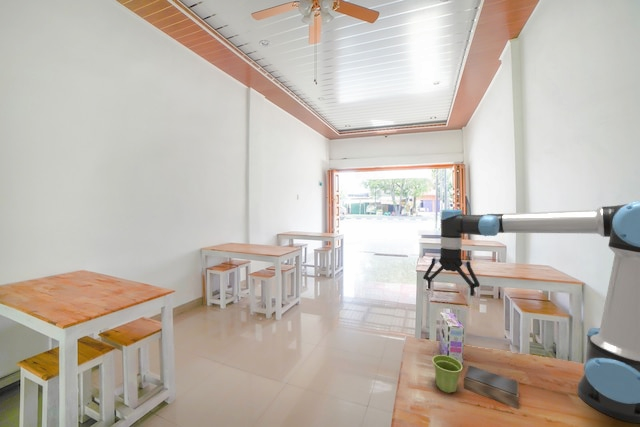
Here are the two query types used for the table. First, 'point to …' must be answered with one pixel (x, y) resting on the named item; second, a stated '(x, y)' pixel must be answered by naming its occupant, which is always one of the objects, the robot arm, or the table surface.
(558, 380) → the table surface
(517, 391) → the plinth
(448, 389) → the plant pot
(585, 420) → the table surface
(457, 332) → the candy box
